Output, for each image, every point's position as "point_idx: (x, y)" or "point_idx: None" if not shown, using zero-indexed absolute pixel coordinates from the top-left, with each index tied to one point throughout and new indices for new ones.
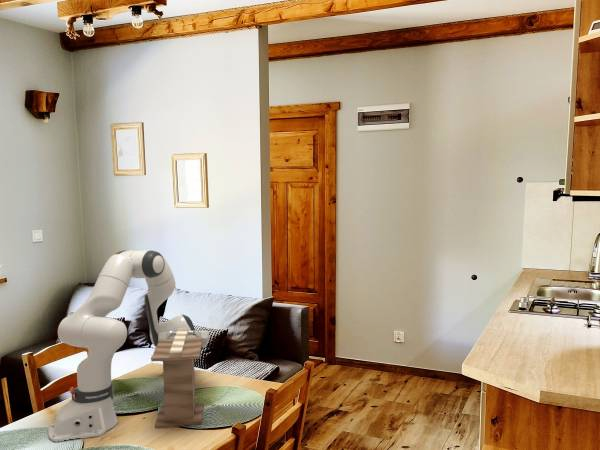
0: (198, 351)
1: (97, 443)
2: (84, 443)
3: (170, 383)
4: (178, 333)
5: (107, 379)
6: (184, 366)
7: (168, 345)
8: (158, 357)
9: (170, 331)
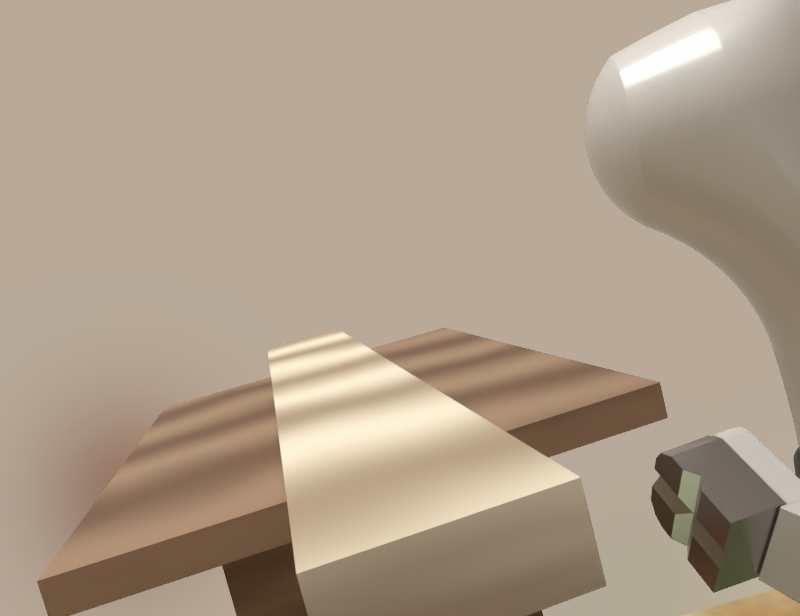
0: (163, 421)
1: (738, 605)
2: None
3: None
4: (410, 405)
5: (793, 413)
6: None
7: (435, 380)
8: (409, 339)
9: (703, 442)
